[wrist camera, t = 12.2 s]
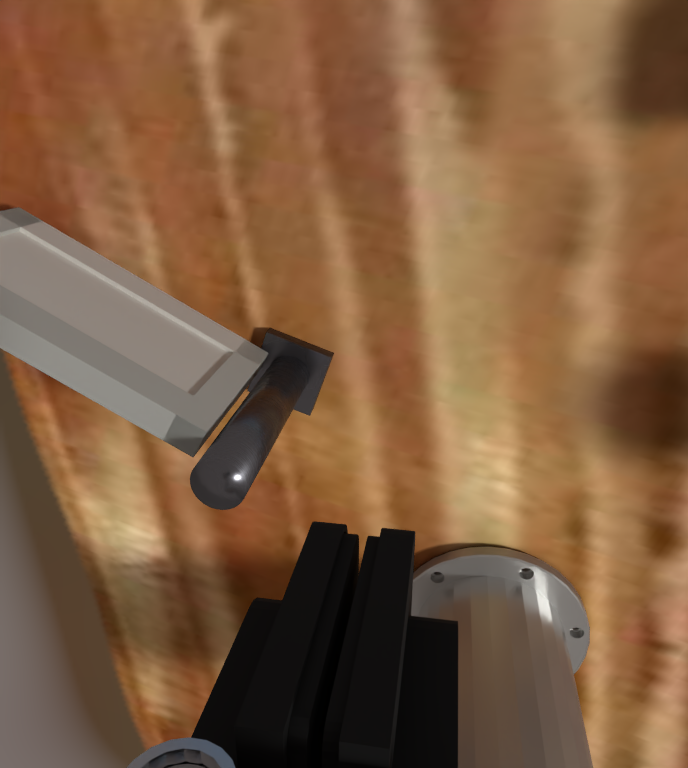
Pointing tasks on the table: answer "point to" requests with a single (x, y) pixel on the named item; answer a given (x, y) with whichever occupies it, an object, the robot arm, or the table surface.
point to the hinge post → (260, 419)
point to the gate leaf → (117, 335)
